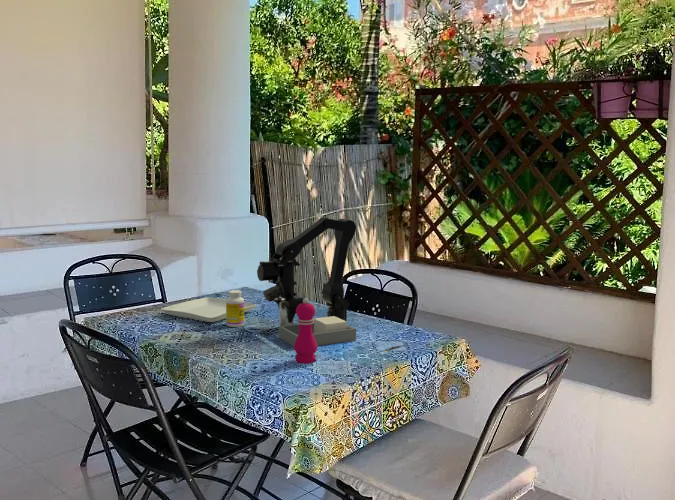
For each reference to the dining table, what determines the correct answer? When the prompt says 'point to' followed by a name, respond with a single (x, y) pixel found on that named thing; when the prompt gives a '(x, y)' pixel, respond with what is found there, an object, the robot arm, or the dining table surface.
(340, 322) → the cream hollow cover
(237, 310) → the supplement bottle
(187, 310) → the square plate
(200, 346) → the dining table surface
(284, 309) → the tin
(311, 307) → the pepper mill
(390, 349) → the butter knife
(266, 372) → the dining table surface
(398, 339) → the dining table surface
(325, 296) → the robot arm
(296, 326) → the tote
